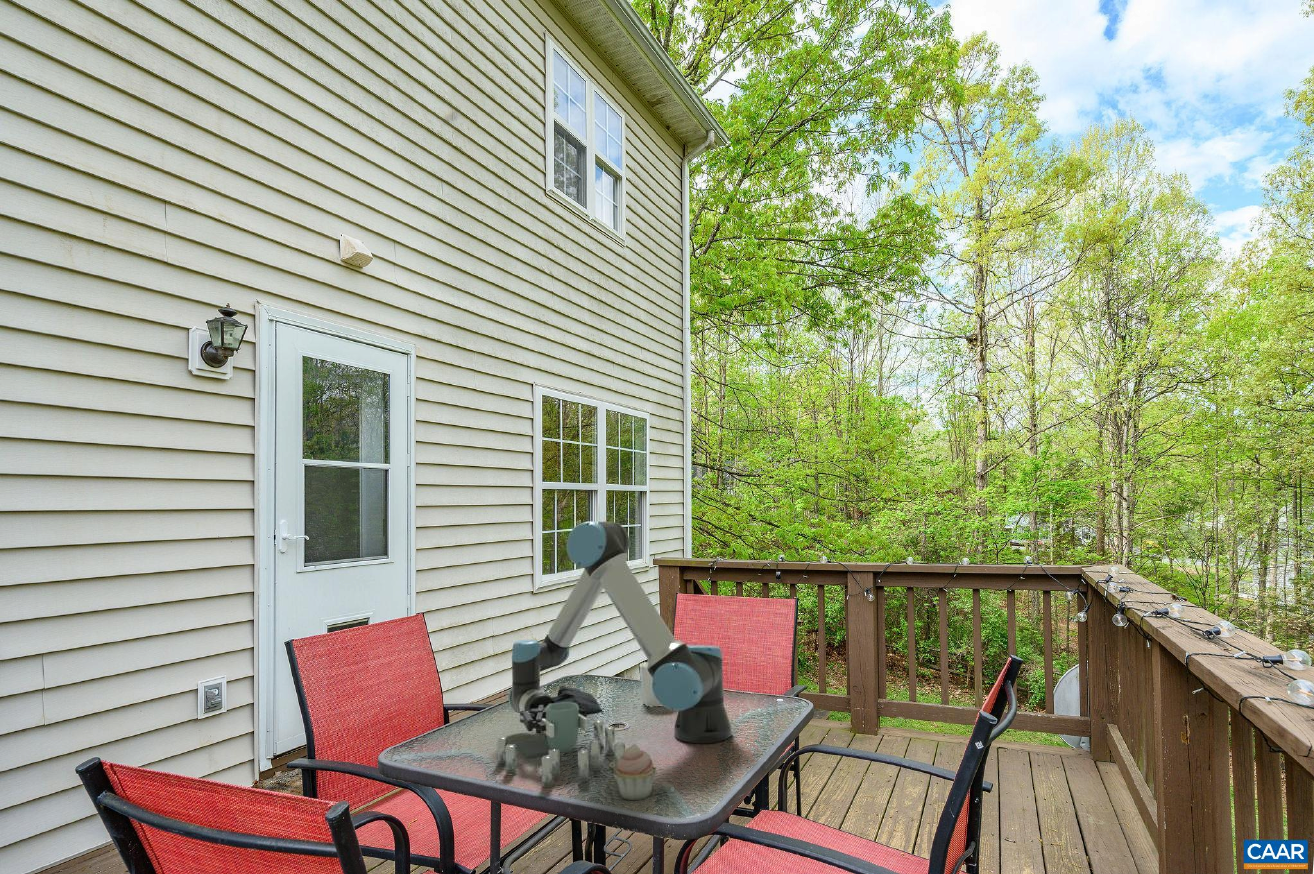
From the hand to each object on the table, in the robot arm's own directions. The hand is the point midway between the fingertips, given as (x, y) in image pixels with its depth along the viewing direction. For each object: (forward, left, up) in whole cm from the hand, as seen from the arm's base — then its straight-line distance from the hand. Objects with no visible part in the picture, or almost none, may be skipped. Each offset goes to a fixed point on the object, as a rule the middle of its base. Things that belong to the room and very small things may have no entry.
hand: (569, 728), depth 159 cm
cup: (+4, -2, -6) cm, 8 cm away
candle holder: (+12, -58, -9) cm, 60 cm away
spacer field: (+1, -3, -9) cm, 9 cm away
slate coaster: (+16, -9, -9) cm, 21 cm away
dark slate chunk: (+34, -45, -10) cm, 58 cm away
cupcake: (-22, +6, -9) cm, 24 cm away
